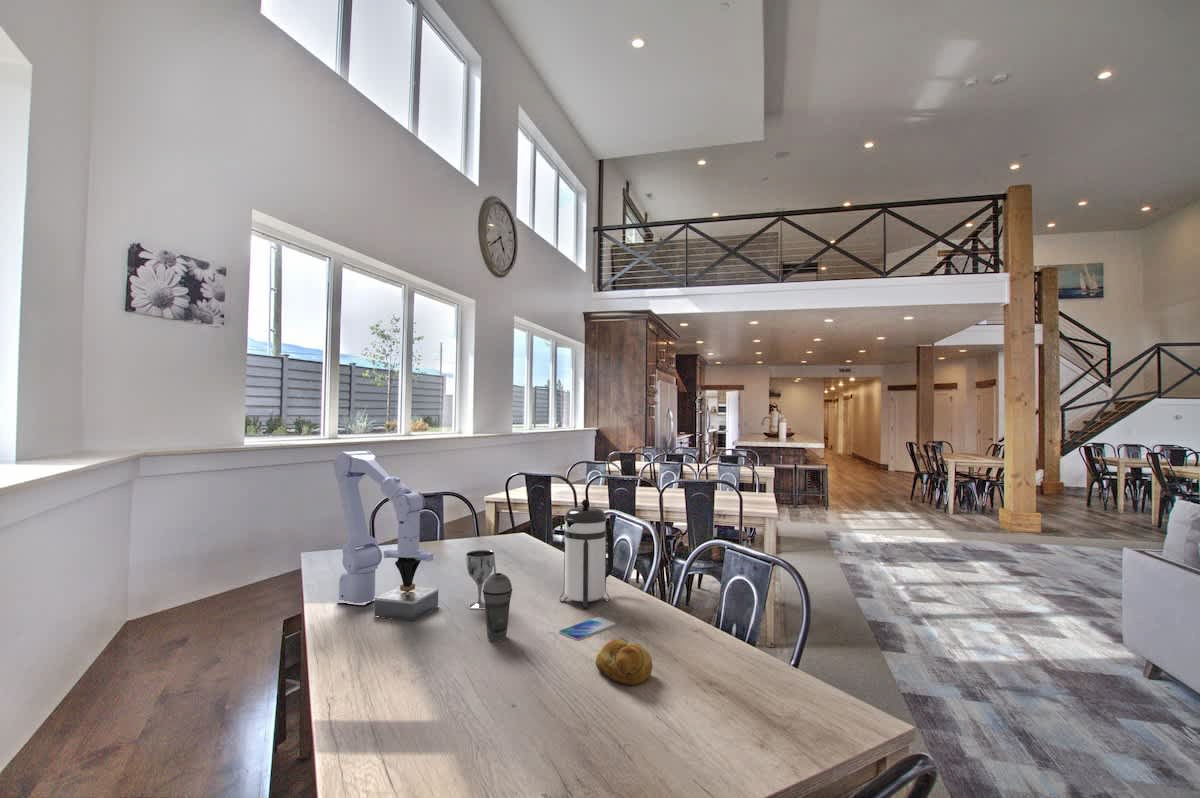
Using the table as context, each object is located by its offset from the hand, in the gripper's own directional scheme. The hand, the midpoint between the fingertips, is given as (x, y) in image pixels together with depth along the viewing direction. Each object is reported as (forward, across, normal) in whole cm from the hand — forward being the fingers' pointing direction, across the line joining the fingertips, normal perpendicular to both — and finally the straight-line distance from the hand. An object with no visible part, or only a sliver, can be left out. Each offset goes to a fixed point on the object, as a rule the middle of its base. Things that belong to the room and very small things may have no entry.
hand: (407, 585), depth 154 cm
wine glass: (+8, -17, -10) cm, 21 cm away
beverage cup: (+8, -32, +10) cm, 34 cm away
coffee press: (+8, -45, -24) cm, 52 cm away
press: (+7, 0, -1) cm, 7 cm away
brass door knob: (+6, 0, 0) cm, 6 cm away
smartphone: (+8, -52, -2) cm, 53 cm away
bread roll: (+8, -66, +21) cm, 70 cm away
